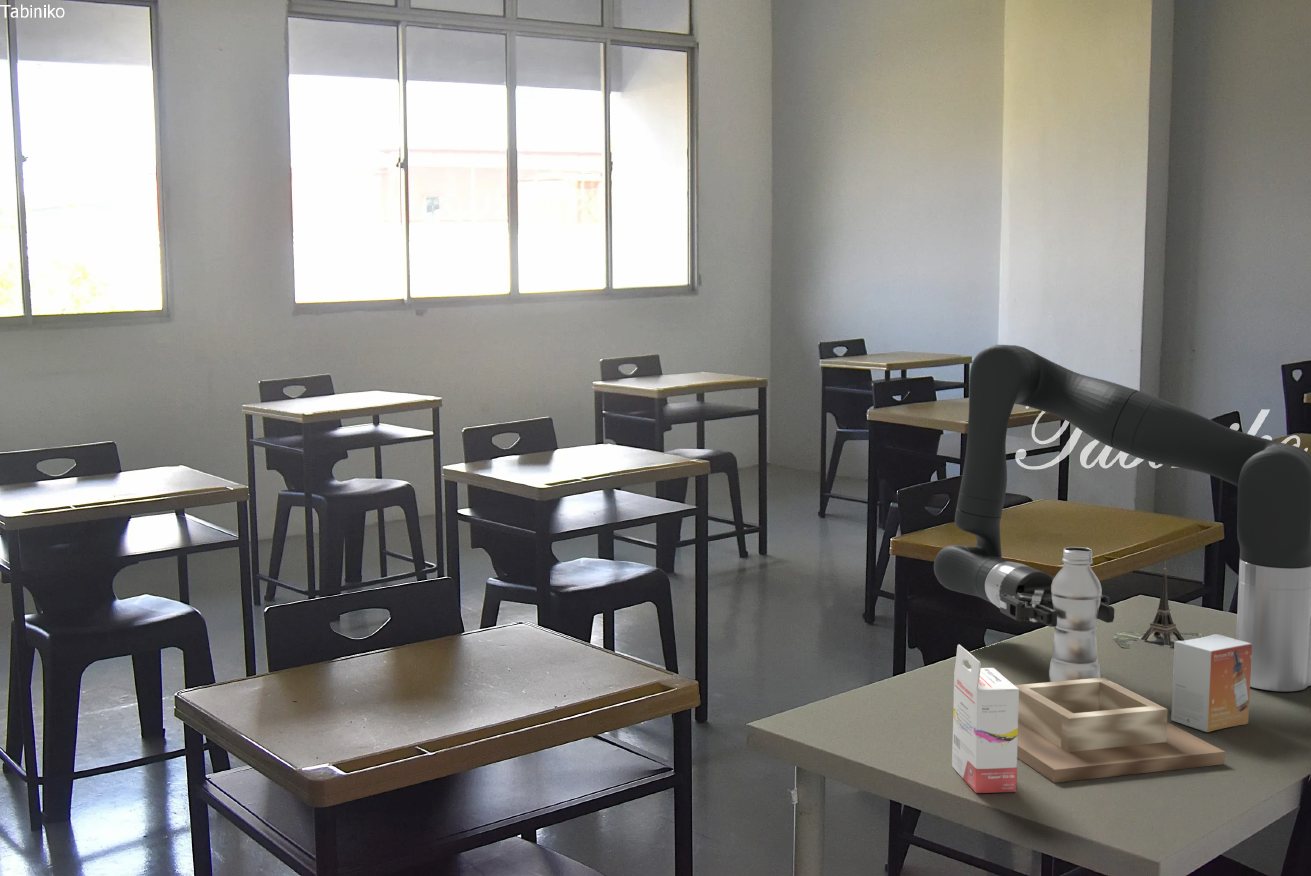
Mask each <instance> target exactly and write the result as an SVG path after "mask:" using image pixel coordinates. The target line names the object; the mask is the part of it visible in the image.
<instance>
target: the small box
mask: <svg viewBox="0 0 1311 876" xmlns="http://www.w3.org/2000/svg"><path fill="white" fill-rule="evenodd" d="M1173 648H1174V649H1173V668H1172V669H1173V671H1172V672H1173V673H1172V687H1171V688H1172V691H1171V693H1172V694H1171V716H1170V719H1171V721H1172V722H1175V723H1179V724H1181V725H1184V726H1188V727H1189V728H1192V729H1196V730H1198V731H1201V732H1205V733H1210V732H1213V731H1217V730H1222V729H1226V728H1232V727H1237V726H1242V725H1247V724H1248V723H1249V715H1250V714H1249V712H1250V693H1251V692H1250V691H1251V687H1250V677H1251V657H1252V644H1251V643H1248V642H1244V641H1241V640H1237V639H1236V638H1233V637H1230V636H1226V635H1222V634H1217V633H1213V634H1211V635H1207V636H1206V635H1205V636H1204V637H1201V638H1190V639H1186V640H1185V639H1184V641H1175V642H1174V647H1173Z"/></svg>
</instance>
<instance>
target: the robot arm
mask: <svg viewBox="0 0 1311 876" xmlns="http://www.w3.org/2000/svg"><path fill="white" fill-rule="evenodd" d="M968 385H969V386H968V387H969V388H968V389H969V390H968V418H967V420H968V421H967V422H968V423H967V438H966V447H965V448H966V449H965V458H964V464H963V471H962V476H961V482H960V487H959V493H958V497H957V503H956V507H955V508H956V509H955V514H954V523H955V526H956V527H957V528H958V529H959V530H961V531H964V532H966V533H969V534H971V535H972V534H973V535H975V538H976V539H975V540H976V546H972V545H971V546H969V545H961V544H960V545H959V544H950V545H947V546H944V547H943V548H941V549H940V550H939V551H938V552H937V554H936V556H935V558H934V562H933V571H934V575H935V577H936V579H937V581H938V582H939V584H940V585H941V586H942V587H944V588H946V589H947V590H950V591H953V592H957V593H961V594H965V595H969V596H974V597H977V598H980V599H982V600H984V601H986V602H989V603H990V604H993V605H994V606H996V607H997V608H999V611H1000V613H1002V614H1003V615H1005V616H1007V617H1009V618H1011V619H1013V620H1015V621H1016V622H1019V623H1022V622H1027V623H1030V624H1031V623H1032V624H1035V623H1036V624H1037V623H1041V624H1043V625H1045V626H1047V627H1050V628H1055V627H1056V626H1057V612H1056V611H1055V610H1054V609H1053V602H1052V593H1051V584H1052V581H1053V579H1054V577H1053V576H1052V575H1050V574H1048V573H1047V572H1044V571H1041V570H1039V569H1036V568H1034V567H1031V566H1029V565H1026V564H1023V563H1020V562H1014V561H1011V560H1008V559H1006V558H1004V557H1002V547H1001V546H1002V545H1001V542H1002V541H1001V520H1002V515H1003V510H1004V504H1005V498H1006V493H1007V486H1008V485H1007V482H1008V470H1007V469H1008V468H1007V467H1008V466H1007V451H1006V450H1007V449H1006V448H1007V447H1006V444H1007V434H1008V433H1007V431H1008V427H1009V421H1010V418H1011V416H1012V415H1011V414H1012V412H1013V408H1014V406H1015V405H1020V406H1023V407H1029V408H1031V409H1034V410H1039V411H1042V412H1045V413H1047V414H1051V415H1054V416H1056V417H1057V418H1058V417H1059V418H1061V419H1063V420H1065V421H1066V422H1069V423H1070V424H1072V425H1073V426H1074V427H1076V428H1077V429H1079V430H1080V431H1082V432H1083V433H1084V434H1086V435H1088V436H1089V437H1091V438H1093V439H1094V440H1096V441H1098V442H1100V443H1101V444H1104V445H1105V446H1107V447H1110V448H1113V449H1115V450H1117V451H1120V452H1121V453H1125V454H1127V455H1130V456H1132V457H1135V458H1138V459H1140V460H1144V461H1147V462H1150V463H1155V464H1159V465H1164V466H1167V467H1172V468H1177V469H1183V470H1189V471H1194V472H1199V473H1202V474H1207V475H1209V476H1213V477H1215V478H1218V479H1221V480H1223V481H1225V482H1226V483H1227V482H1228V483H1230V484H1232V485H1234V486H1236V487H1237V501H1236V503H1237V511H1236V513H1237V514H1236V515H1237V516H1236V534H1237V535H1236V536H1237V541H1238V545H1239V569H1238V591H1237V592H1238V594H1237V617H1236V633H1235V634H1236V637H1235V639H1237V640H1241V641H1244V642H1248V643H1251V644H1252V657H1251V677H1250V688H1254V689H1260V690H1263V691H1264V690H1265V691H1272V692H1298V691H1303V690H1305V689H1306V688H1308V687H1310V686H1311V453H1309V452H1308V451H1306V450H1305V449H1304V448H1301V447H1299V446H1296V445H1292V444H1288V443H1286V442H1285V443H1284V442H1280V441H1276V440H1273V439H1272V440H1271V439H1268V438H1264V437H1260V436H1257V435H1253V434H1249V433H1246V432H1242V431H1239V430H1236V429H1234V428H1230V427H1228V426H1224V425H1223V424H1220V423H1218V422H1215V421H1214V420H1211V419H1209V418H1208V417H1205V416H1202V414H1198V413H1196V412H1193V411H1191V410H1189V409H1186V408H1185V407H1181V406H1180V405H1177V404H1174V403H1172V402H1169V401H1167V400H1164V399H1162V398H1160V397H1157V396H1154V395H1151V394H1149V393H1146V392H1143V391H1140V390H1138V389H1135V388H1131V387H1127V386H1125V385H1123V384H1122V385H1121V384H1118V383H1116V382H1111V381H1109V380H1104V379H1101V378H1097V377H1092V376H1089V375H1085V374H1080V373H1078V372H1076V371H1073V370H1072V369H1068V368H1067V367H1064V366H1062V365H1060V364H1058V363H1055V362H1053V361H1051V360H1049V359H1047V358H1046V357H1044V356H1041V355H1039V354H1038V353H1036V352H1034V351H1032V350H1030V349H1028V348H1025V347H1024V346H1020V345H1012V344H1011V345H1010V344H993V345H989V346H987V347H986V346H985V348H984V349H982V350H980V351H979V352H978V353H977V354H976V356H975V357H974V358H973V360H972V363H971V366H970V371H969V384H968ZM1114 619H1115V608H1114V607H1113V606H1112V605H1110V597H1109V596H1108V595H1104V594H1102V593H1101V600H1100V606H1099V611H1098V618H1097V620H1100V621H1102V622H1105V623H1107V624H1109V623H1113V622H1114Z"/></svg>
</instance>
